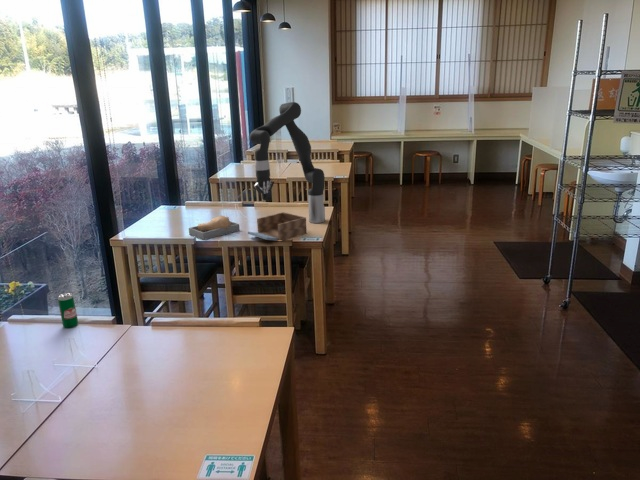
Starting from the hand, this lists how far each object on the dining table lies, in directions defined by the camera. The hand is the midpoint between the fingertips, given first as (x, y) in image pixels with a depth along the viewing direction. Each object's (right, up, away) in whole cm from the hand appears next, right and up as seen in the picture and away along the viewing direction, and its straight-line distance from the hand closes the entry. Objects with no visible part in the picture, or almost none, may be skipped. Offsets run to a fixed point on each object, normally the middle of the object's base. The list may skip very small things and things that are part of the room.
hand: (265, 200), depth 271 cm
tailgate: (+1, -19, +8) cm, 21 cm away
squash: (-32, -17, +21) cm, 42 cm away
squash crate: (-32, -17, +22) cm, 42 cm away
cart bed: (+8, -18, +15) cm, 25 cm away
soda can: (-61, -53, -90) cm, 121 cm away
